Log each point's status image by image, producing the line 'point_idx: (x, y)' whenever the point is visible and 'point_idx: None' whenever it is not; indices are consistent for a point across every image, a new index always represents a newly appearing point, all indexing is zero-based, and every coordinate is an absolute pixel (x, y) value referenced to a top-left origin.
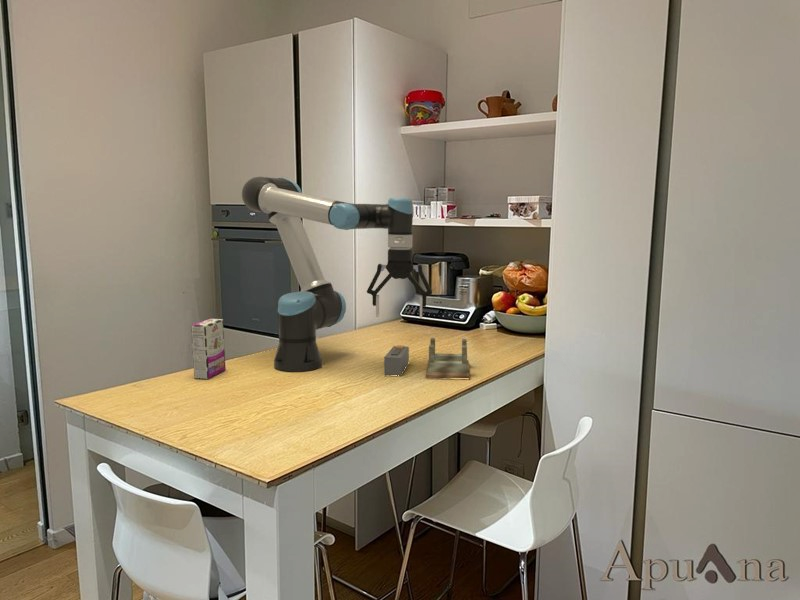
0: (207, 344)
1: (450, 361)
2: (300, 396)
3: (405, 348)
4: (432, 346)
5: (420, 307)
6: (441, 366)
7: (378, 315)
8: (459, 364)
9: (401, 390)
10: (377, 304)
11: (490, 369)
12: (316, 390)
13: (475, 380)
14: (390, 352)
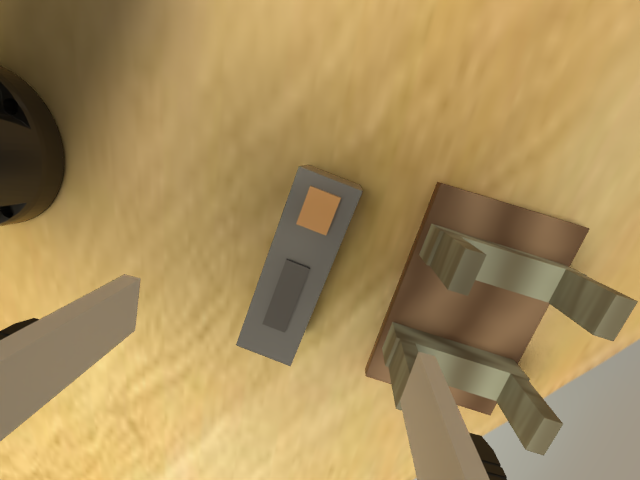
0: None
1: (469, 366)
2: (56, 431)
3: (339, 225)
4: None
5: (418, 465)
6: None
7: (131, 323)
8: (486, 395)
9: (279, 444)
10: (58, 383)
11: None
12: (83, 399)
13: (500, 413)
14: (267, 281)
